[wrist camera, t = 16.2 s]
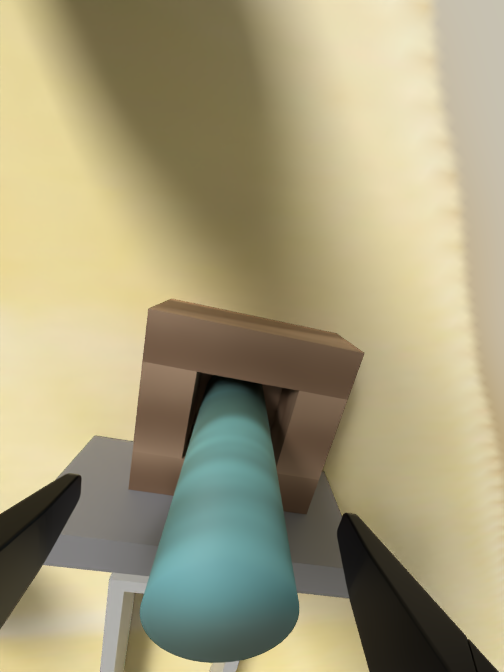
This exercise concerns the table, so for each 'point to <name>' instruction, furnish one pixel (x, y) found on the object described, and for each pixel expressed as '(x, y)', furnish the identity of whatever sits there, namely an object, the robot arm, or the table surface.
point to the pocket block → (249, 365)
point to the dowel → (224, 539)
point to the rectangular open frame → (128, 623)
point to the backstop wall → (150, 516)
